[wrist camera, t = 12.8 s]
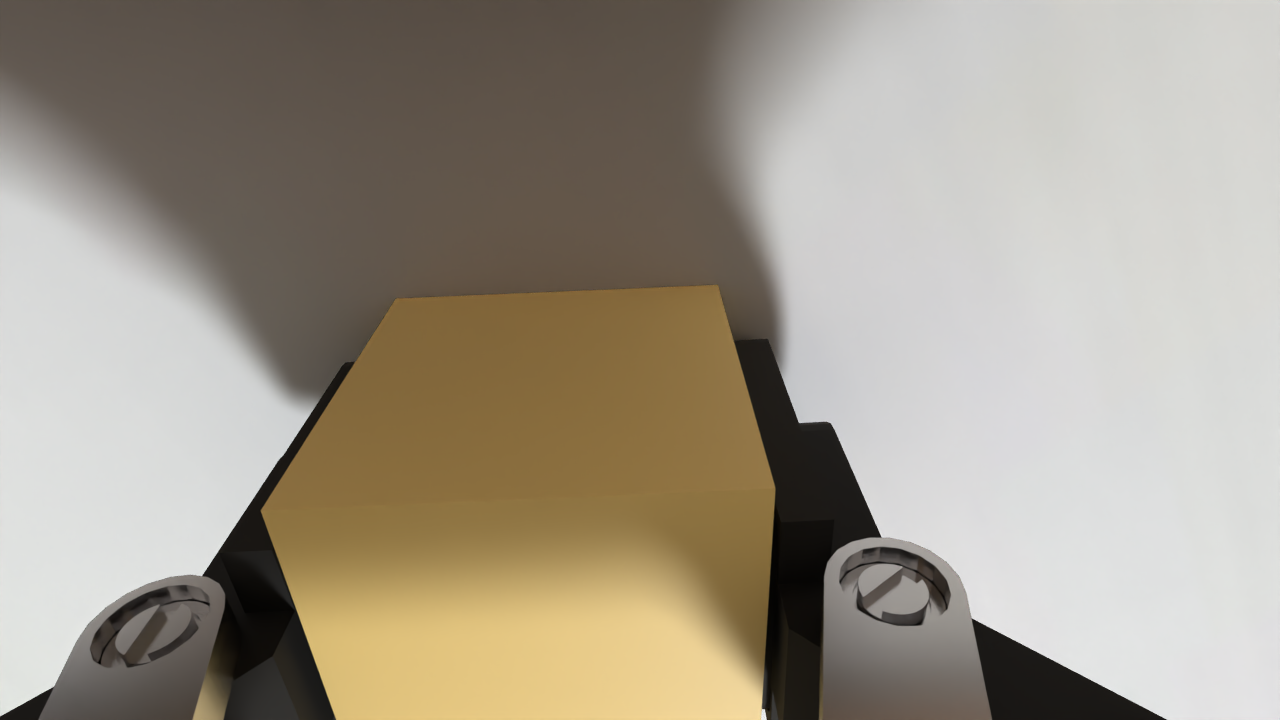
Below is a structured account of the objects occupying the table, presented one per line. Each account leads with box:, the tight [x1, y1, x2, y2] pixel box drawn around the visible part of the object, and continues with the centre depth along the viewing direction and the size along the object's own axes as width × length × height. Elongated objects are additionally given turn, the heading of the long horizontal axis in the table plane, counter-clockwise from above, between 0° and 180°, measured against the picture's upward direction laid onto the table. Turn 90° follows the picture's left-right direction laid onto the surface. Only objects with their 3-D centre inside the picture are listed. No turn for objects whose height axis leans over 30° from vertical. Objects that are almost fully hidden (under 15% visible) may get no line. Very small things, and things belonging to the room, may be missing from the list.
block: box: [261, 285, 775, 720], centre depth 10 cm, size 4×4×4 cm
